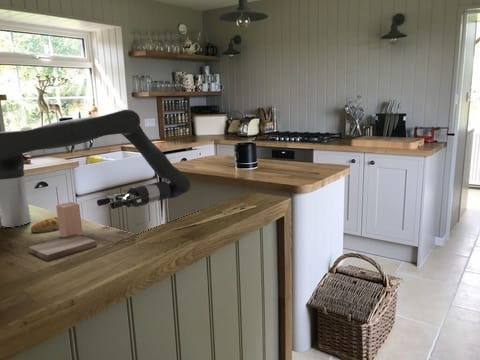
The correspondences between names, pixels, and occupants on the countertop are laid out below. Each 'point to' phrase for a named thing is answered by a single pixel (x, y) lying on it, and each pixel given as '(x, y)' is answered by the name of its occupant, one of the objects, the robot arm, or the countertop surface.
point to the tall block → (69, 219)
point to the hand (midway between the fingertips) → (104, 204)
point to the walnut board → (61, 246)
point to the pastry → (46, 225)
